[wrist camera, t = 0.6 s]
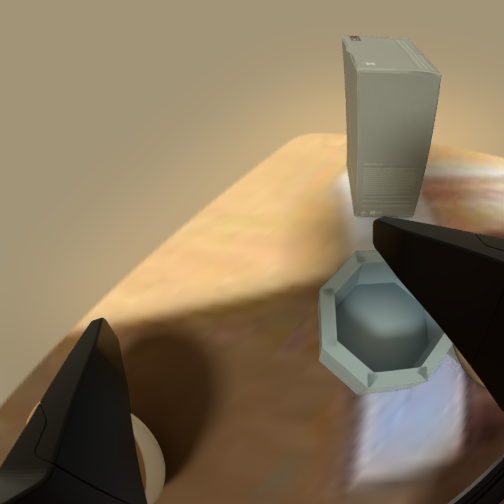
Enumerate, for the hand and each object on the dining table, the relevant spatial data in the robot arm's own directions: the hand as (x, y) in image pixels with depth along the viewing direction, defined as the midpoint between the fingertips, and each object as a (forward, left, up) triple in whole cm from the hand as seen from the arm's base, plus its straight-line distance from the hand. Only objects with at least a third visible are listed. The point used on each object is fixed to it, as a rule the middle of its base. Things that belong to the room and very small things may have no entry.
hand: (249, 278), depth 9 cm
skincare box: (+6, -20, -17) cm, 27 cm away
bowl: (-3, -7, -16) cm, 18 cm away
